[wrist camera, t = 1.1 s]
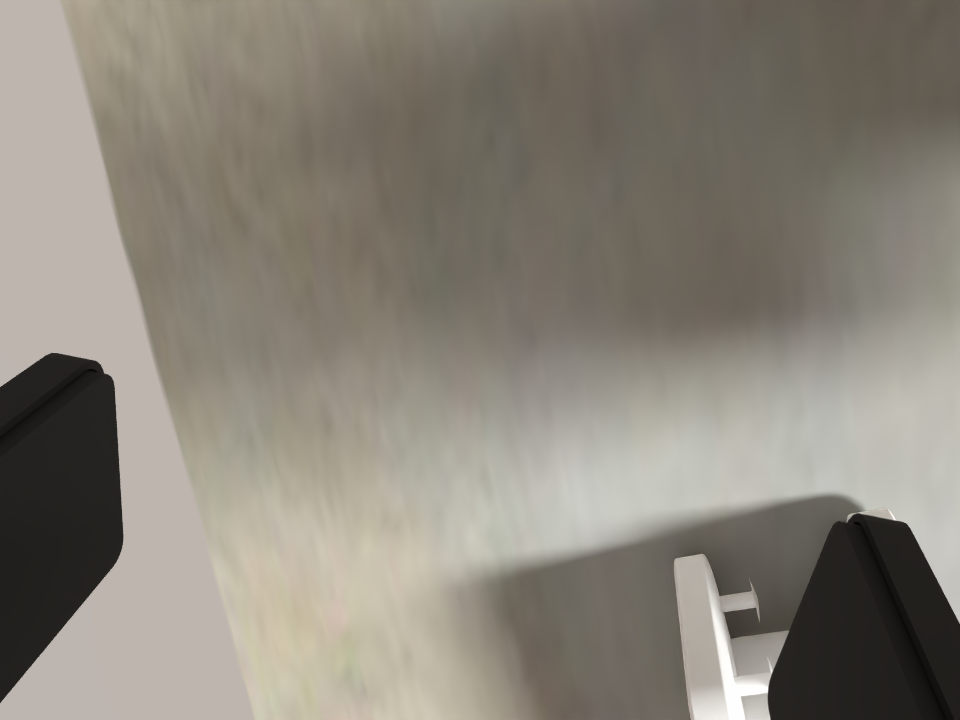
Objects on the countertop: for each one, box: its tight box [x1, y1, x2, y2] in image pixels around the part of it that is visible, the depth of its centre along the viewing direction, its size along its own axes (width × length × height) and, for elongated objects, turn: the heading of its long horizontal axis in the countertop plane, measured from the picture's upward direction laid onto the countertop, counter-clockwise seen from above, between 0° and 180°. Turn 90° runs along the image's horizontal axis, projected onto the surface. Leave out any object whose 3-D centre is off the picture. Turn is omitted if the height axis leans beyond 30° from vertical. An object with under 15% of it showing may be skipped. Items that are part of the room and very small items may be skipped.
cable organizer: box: [674, 508, 896, 720], centre depth 38 cm, size 15×11×12 cm
